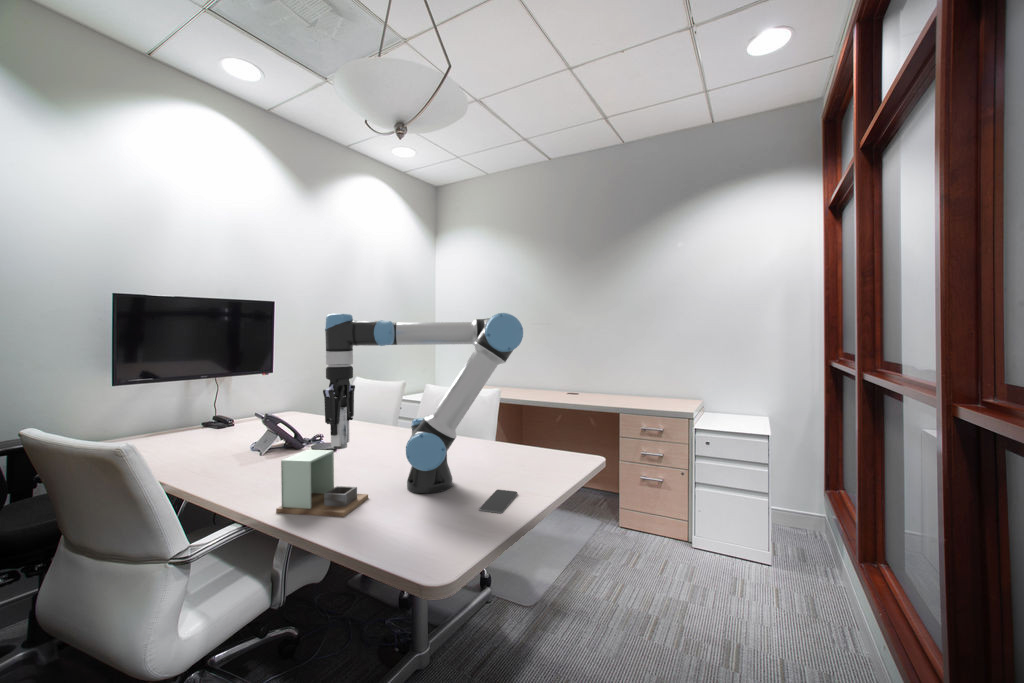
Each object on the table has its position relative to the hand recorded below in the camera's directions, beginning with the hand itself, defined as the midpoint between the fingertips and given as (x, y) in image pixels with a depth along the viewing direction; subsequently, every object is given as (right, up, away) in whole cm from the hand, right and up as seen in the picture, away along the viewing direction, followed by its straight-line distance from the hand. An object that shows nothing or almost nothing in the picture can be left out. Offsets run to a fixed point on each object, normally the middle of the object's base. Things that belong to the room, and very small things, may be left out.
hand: (340, 443), depth 125 cm
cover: (-10, -17, +2) cm, 20 cm away
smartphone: (+47, -19, +2) cm, 51 cm away
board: (-5, -19, +1) cm, 19 cm away
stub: (0, -1, 0) cm, 1 cm away
